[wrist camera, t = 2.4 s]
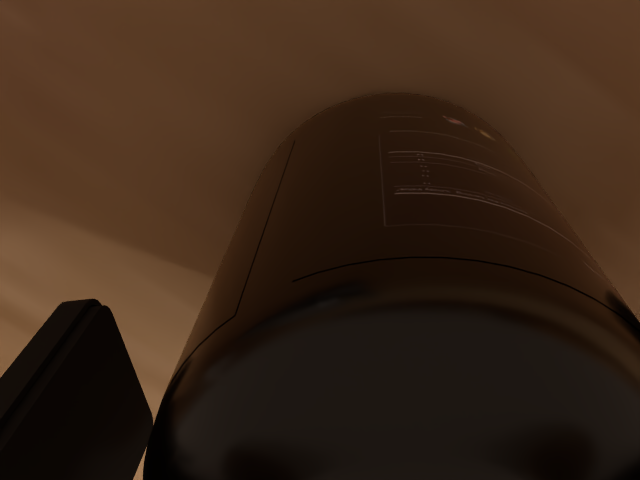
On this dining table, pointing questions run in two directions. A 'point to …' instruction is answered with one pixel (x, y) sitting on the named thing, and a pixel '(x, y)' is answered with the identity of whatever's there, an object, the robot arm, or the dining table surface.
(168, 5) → the dining table surface
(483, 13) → the dining table surface
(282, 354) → the supplement bottle
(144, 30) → the dining table surface
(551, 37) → the dining table surface
